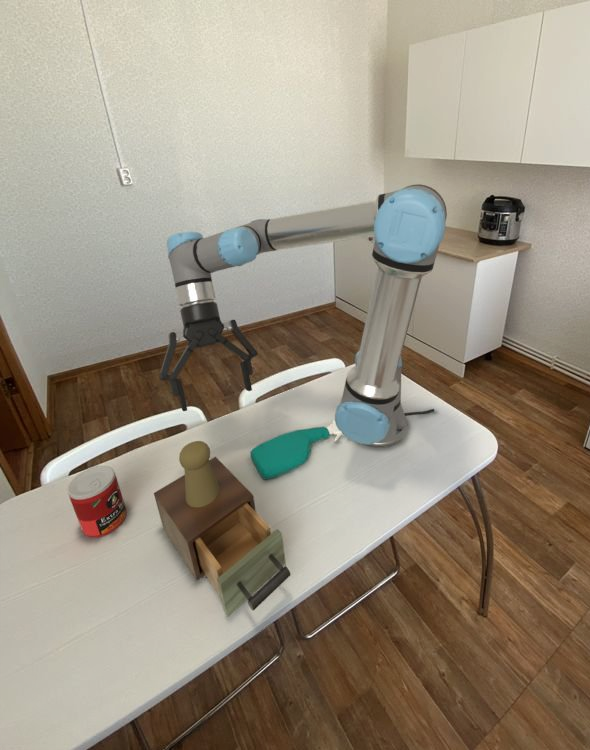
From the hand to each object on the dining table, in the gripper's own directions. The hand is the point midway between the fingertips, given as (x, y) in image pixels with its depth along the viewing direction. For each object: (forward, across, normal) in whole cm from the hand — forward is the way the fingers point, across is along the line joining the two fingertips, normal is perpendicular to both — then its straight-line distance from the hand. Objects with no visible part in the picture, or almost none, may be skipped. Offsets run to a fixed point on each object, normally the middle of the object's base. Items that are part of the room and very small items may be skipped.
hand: (218, 399), depth 83 cm
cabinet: (+24, +7, +4) cm, 25 cm away
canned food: (+19, +24, -9) cm, 32 cm away
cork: (+15, +7, +8) cm, 18 cm away
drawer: (+28, +4, +16) cm, 32 cm away
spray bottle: (+19, -18, -4) cm, 27 cm away
